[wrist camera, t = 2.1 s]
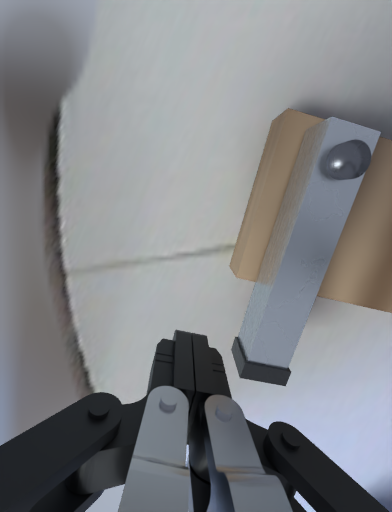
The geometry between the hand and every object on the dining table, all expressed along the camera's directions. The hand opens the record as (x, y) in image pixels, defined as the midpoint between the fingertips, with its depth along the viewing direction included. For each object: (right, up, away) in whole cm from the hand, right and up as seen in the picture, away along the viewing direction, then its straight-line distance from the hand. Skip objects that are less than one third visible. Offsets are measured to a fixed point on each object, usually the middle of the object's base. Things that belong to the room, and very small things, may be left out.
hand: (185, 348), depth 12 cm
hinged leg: (+7, +4, +7) cm, 11 cm away
